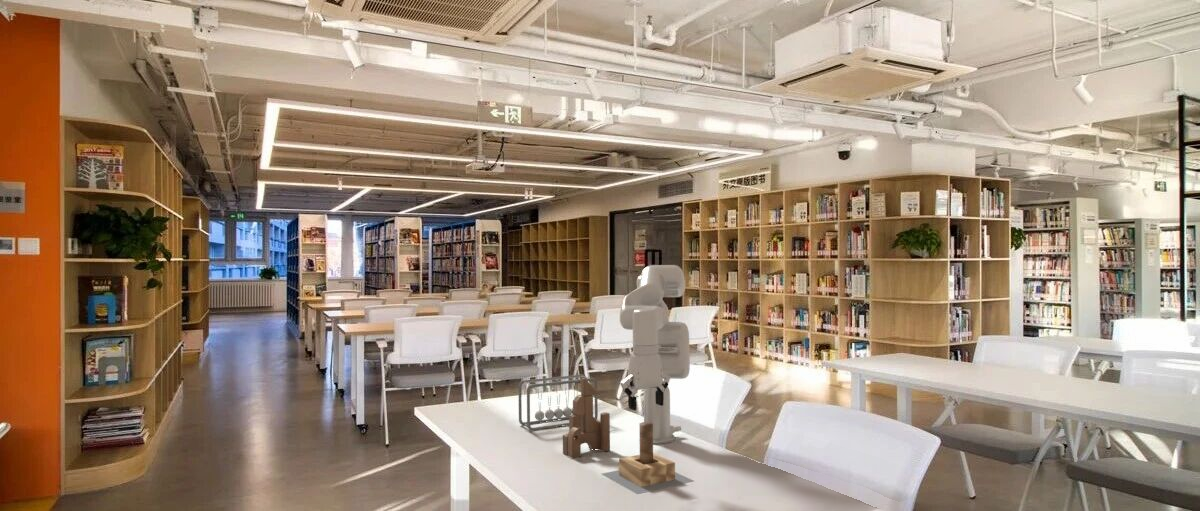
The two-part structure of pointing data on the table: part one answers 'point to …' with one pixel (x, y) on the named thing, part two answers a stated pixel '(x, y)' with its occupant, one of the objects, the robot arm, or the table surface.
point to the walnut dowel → (646, 442)
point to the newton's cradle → (549, 413)
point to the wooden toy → (586, 424)
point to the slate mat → (637, 489)
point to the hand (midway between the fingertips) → (646, 407)
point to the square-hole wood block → (646, 470)
